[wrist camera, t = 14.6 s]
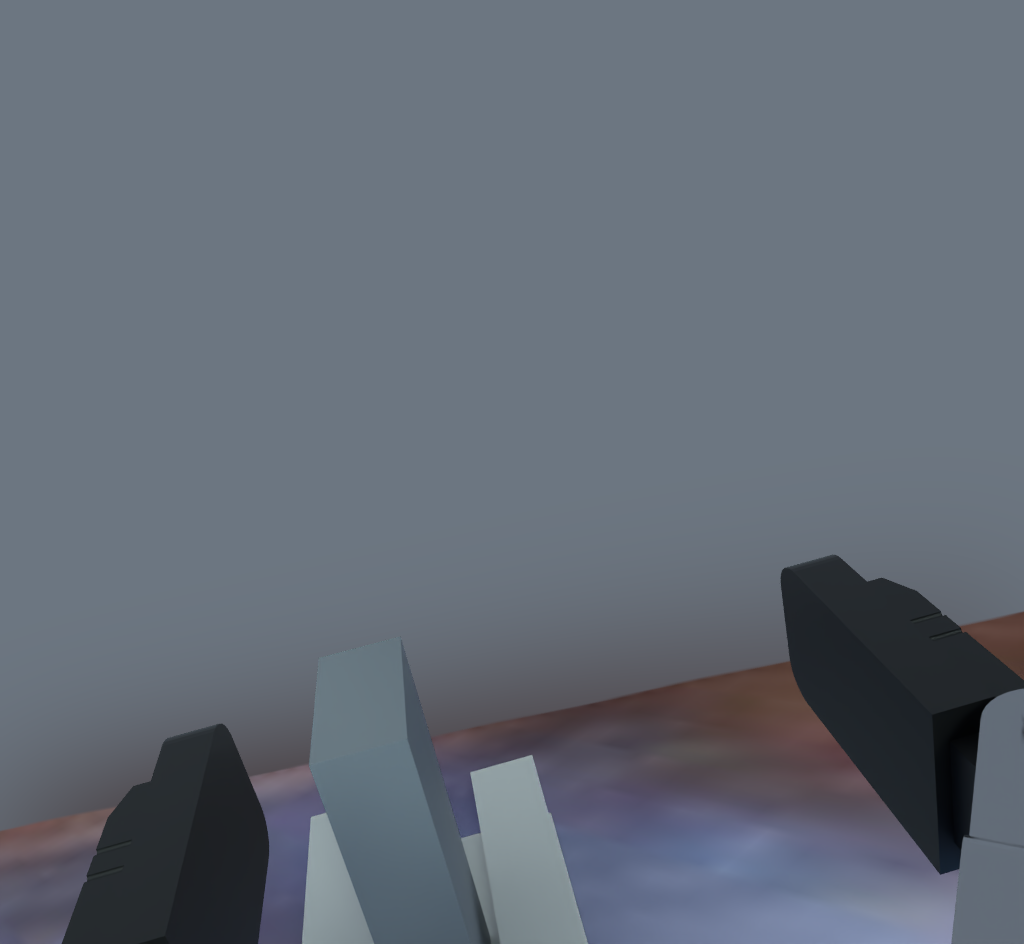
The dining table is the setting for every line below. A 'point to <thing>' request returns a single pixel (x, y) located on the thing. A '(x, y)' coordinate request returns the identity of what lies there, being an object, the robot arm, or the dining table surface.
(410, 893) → the slate slat
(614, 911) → the dining table surface
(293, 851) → the dining table surface
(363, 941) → the rail
